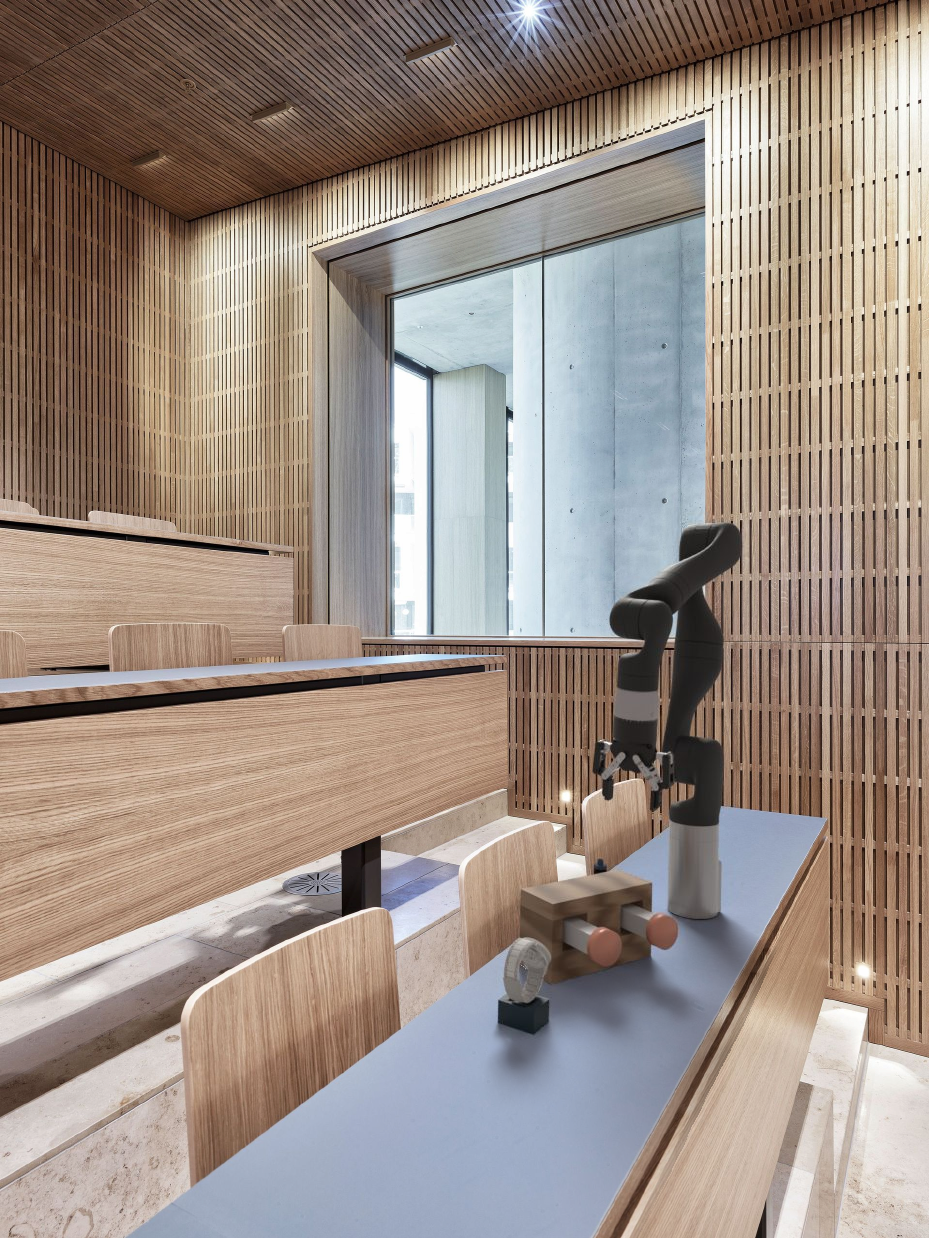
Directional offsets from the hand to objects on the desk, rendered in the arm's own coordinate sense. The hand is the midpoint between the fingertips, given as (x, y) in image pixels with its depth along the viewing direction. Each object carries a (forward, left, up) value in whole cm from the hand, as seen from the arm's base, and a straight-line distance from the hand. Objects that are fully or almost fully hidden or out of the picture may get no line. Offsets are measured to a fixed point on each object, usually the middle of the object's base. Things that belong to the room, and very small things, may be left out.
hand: (630, 804), depth 140 cm
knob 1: (+20, +11, -18) cm, 29 cm away
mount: (+14, +4, -23) cm, 27 cm away
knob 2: (+8, +11, -18) cm, 22 cm away
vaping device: (+3, -7, -23) cm, 24 cm away
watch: (+35, +15, -23) cm, 44 cm away
